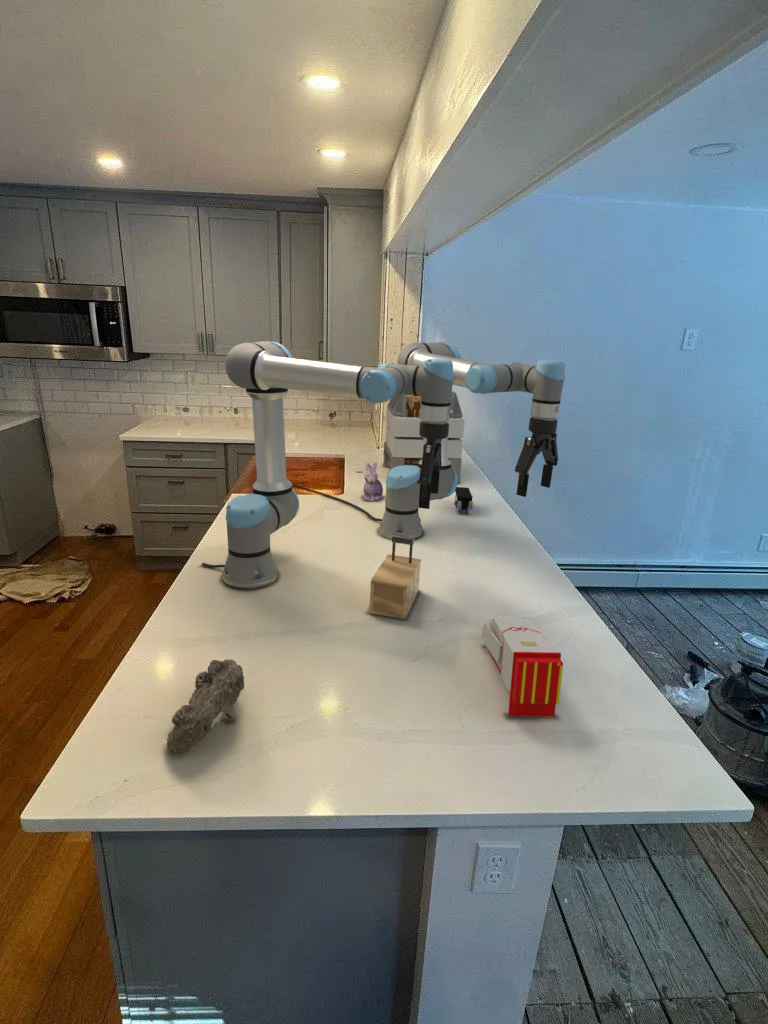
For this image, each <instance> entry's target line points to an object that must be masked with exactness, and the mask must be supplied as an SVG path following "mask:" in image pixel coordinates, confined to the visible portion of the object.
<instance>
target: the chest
mask: <svg viewBox="0 0 768 1024" xmlns="http://www.w3.org/2000/svg"><path fill="white" fill-rule="evenodd" d="M420 575H421V564H420V565H419V567H418V569H417V571H416V572H415V574H414V576H413V578H412V580H411V582H410V584H409V586H408V588H407V589H405V588H399V587H393V586H387V585H381V584H374V583H371V582H370V591H369V614H373V615H377V616H384V617H390V618H395V619H401V620H406V618H407V617H408V615H409V612H410V611H411V608H412V606H413V605H414V602H415V600H416V598H417V595H418V593H419V588H420Z"/></svg>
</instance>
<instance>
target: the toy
mask: <svg viewBox="0 0 768 1024" xmlns="http://www.w3.org/2000/svg"><path fill="white" fill-rule="evenodd" d="M481 632H482V633H481V640H482V642H483V644H484V646H485V648H486V650H487V652H488V654H489V655H490V657H491V659H492V661H493V663H494V664H495V666H496V668H497V670H498V671H499V674H500V676H501V678H502V680H503V682H504V684H505V687H506V688H507V690H508V692H509V700H508V702H509V703H508V710H507V711H508V712H507V715H508V717H551V718H552V717H553V718H555V716H556V707H557V705H559V704H560V698H561V697H560V695H561V688H562V687H561V686H562V678H563V669H564V662H563V661H562V653H561V652H556V651H555V649H554V648H553V647H552V645H551V644H550V643H549V641H548V639H547V638H546V637H545V635H544V634H543V633H542V631H541V630H540V629H539V628H538V626H537V624H536V622H535V621H534V620H533V619H532V617H531V616H514V615H513V616H512V615H511V616H508V615H507V616H506V615H505V616H504V615H492V618H489V620H488V623H487V621H483V623H482V631H481Z"/></svg>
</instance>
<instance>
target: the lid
mask: <svg viewBox="0 0 768 1024" xmlns="http://www.w3.org/2000/svg"><path fill="white" fill-rule="evenodd" d="M414 542H415V539H414V537H409V536H402V535H395V534H393V535H392V539H391V543H392V550H391V554H387V555H386V557H385V558H384V560H383V561H382V563H381V564H380V566H379V568H378V569H377V570H376V572H375V573H374V575H373V576H372V578H371V579H370V584H371V583H374V584H381V585H387V586H393V587H399V588H405V589H407V588H408V586H409V584H410V582H411V580H412V578H413V576H414V574H415V572H416V571H417V569H418V567H419V565H420V566H421V563H422V559H420V558H414V557H413V547H414V544H415V543H414ZM396 544H402V545H408V546H409V552H408V553H409V555H408V557H407V556H401V555H396V547H397V546H396Z"/></svg>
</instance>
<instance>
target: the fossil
mask: <svg viewBox="0 0 768 1024" xmlns="http://www.w3.org/2000/svg"><path fill="white" fill-rule="evenodd" d="M243 670H244V669H243V667H242V665H240V664H237V662H236V661H235V660H234V659H232V658H231V659H227V658H226V659H224V660H223V661H222V660H217V659H212V660H211V661H210V663H209V665H208V666H207V671H201V672H199V673H198V674H197V675H196V676H195V680H194V684H195V685H194V687H195V689H194V690H193V693H192V694H191V697H190V698H189V700H188V704H184V705H182V706H181V707H180V709H177V710H176V711H175V713H174V715H173V716H172V718H171V723H172V724H173V727H172V730H171V731H170V732H168V734H167V738H166V741H167V742H166V745H167V749H168V750H169V751H173V752H174V753H176V754H178V753H182V752H188V751H189V752H192V751H193V750H195V748H196V747H197V746H199V744H200V743H201V742H203V741H204V740H205V739H206V738H207V737H208V736H209V735H210V734H211V733H212V732H214V730H215V729H217V727H218V726H219V724H220V722H221V721H222V720H223V719H224V718H225V716H226V717H227V719H229V720H233V717H232V715H230V714H229V710H230V709H231V708H234V706H235V704H236V703H237V702H238V699H239V697H240V695H241V693H242V691H243V690H245V689H244V688H245V675H244V671H243Z"/></svg>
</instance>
